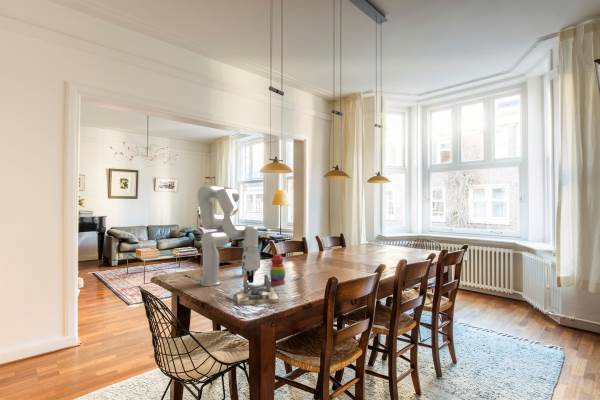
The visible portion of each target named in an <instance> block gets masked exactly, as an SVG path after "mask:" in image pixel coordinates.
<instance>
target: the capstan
mask: <svg viewBox="0 0 600 400" xmlns="http://www.w3.org/2000/svg"><path fill="white" fill-rule="evenodd" d="M269 275H270V274H264V276H263V277H264V281H263V282H264V283H263V284H259V285H255V284H249V282H248V280H247V279H248V275H244V276H243V277H242V278H243V280H242V281H243V284H242V287H243V289H244V293H249V292H250V294H251V295H261V294H263V291H264V292H271V288H272V285H271V280H270V279H271V278H270V279H269Z"/></svg>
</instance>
